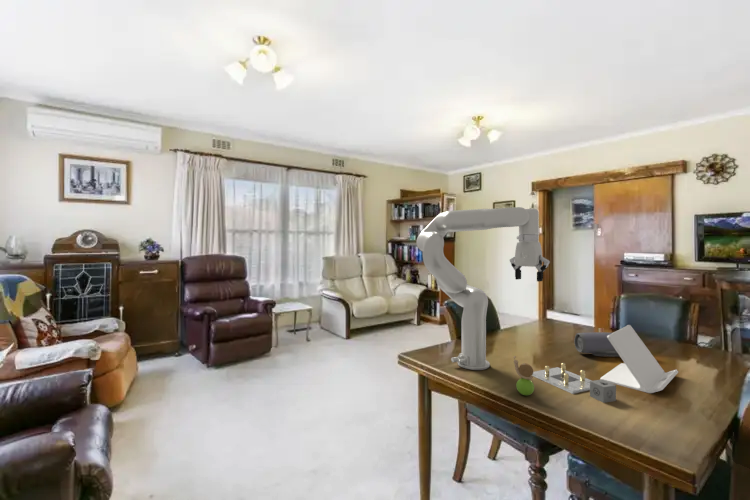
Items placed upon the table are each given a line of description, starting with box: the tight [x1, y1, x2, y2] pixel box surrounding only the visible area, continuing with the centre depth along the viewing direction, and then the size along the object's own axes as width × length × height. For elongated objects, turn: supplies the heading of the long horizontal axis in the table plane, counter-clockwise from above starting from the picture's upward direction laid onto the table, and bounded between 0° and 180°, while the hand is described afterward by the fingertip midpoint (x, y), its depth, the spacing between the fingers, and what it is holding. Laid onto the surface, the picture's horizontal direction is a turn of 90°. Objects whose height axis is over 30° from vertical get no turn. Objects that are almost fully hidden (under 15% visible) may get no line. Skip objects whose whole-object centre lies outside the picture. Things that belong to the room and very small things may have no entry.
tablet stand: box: [599, 324, 679, 394], centre depth 131 cm, size 18×25×17 cm
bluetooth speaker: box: [573, 331, 620, 358], centre depth 157 cm, size 23×9×10 cm, turn 84°
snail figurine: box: [513, 355, 535, 396], centre depth 118 cm, size 5×6×12 cm
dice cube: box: [589, 379, 617, 404], centre depth 115 cm, size 5×5×5 cm
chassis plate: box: [532, 362, 593, 395], centre depth 129 cm, size 14×18×4 cm
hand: (528, 280), depth 149 cm, fingers open, 9 cm apart
